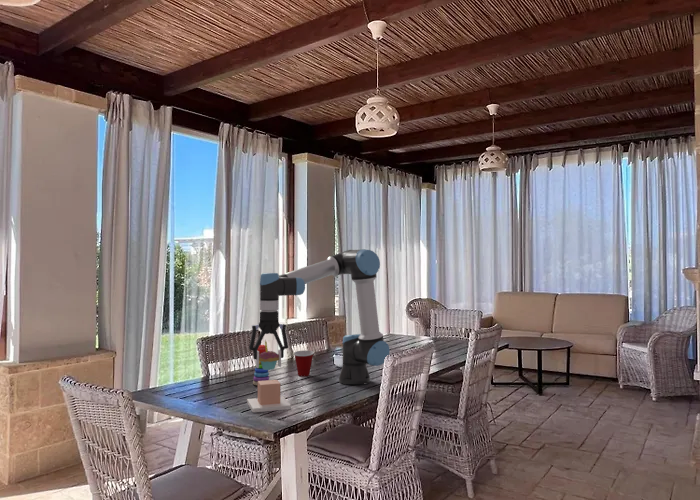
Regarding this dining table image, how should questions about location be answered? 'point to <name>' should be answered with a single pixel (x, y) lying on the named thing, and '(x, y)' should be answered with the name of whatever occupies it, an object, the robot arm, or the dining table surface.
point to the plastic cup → (303, 362)
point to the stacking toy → (260, 369)
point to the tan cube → (268, 392)
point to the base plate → (257, 407)
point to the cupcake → (268, 359)
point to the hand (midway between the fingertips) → (268, 366)
